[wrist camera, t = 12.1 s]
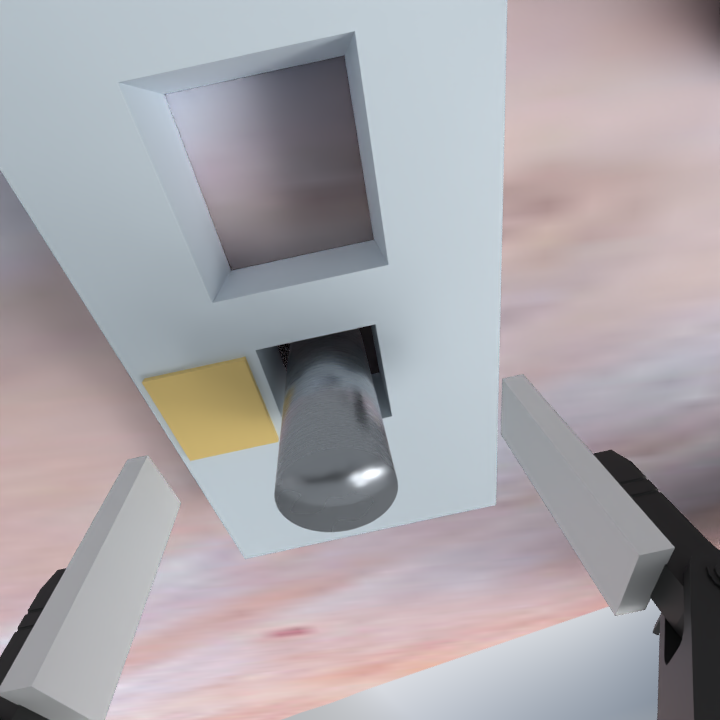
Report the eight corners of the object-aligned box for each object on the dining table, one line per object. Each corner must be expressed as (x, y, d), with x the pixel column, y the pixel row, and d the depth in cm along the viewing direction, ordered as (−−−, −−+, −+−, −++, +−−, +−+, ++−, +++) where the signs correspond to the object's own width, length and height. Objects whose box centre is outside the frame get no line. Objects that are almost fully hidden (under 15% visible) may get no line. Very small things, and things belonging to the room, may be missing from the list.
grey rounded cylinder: (355, 304, 19) (389, 436, 11) (367, 366, 22) (404, 518, 13) (280, 320, 19) (256, 465, 11) (300, 381, 22) (293, 542, 13)
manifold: (457, -64, 13) (515, -143, 9) (472, 457, 27) (498, 509, 23) (3, 34, 13) (-120, -5, 9) (253, 504, 27) (244, 563, 23)
